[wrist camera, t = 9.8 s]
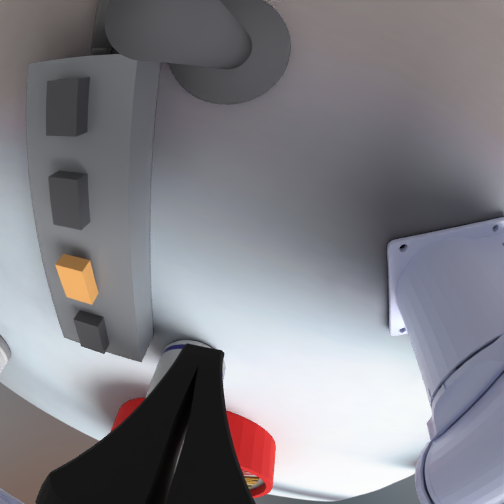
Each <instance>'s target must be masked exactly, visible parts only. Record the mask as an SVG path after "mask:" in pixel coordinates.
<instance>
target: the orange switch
mask: <svg viewBox="0 0 504 504" xmlns="http://www.w3.org/2000/svg"><path fill="white" fill-rule="evenodd" d="M55 266H56V269H57V272H58V275H59V277H60V280H61V283H62V286H63V289H64V291H65V294H66V297H68V298H71V299H75V300H78V301H81V302H84V303H88V304H91V305H92V304H93V302H94V300H95V299H96V297H97V295H98V294H99V293H98V289H97V286H96V282H95V278H94V274H93V270H92V266H91V262H90V260H87V259H83V258H79V257H75V256H71V255H67V254H63V255H62V256H61V257H60V259H59V260H58V261H57V263H56V264H55Z"/></svg>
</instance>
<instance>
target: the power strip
mask: <svg viewBox="0 0 504 504" xmlns="http://www.w3.org/2000/svg"><path fill="white" fill-rule="evenodd" d="M109 1H110V0H99V2H98V8H97V13H96V19H95V25H94V32H93V39H92V46H91V53H92V55H93V56H81V57H71V58H63V59H55V60H48V61H41V62H35V63H29V64H28V72H27V91H26V136H27V156H28V169H29V180H30V189H31V197H32V205H33V212H34V218H35V224H36V230H37V236H38V241H39V246H40V251H41V256H42V260H43V265H44V269H45V273H46V277H47V281H48V285H49V289H50V293H51V296H52V300H53V304H54V307H55V310H56V314H57V317H58V320H59V323H60V326H61V330H62V333H63V336H64V337H65V338H67V339H70V340H73V341H76V342H78V343H80V344H81V346H82V347H85V348H88V349H91V350H94V351H97V352H100V353H103V354H104V353H105V352H109V353H112V354H115V355H118V356H122V357H125V358H128V359H132V360H135V361H139V362H142V360H143V358H144V355H145V353H146V351H147V348H148V346H149V344H150V342H151V339H152V337H153V335H154V333H153V318H152V299H151V272H150V199H151V172H152V153H153V138H154V125H155V114H156V103H157V94H158V85H159V77H160V69H161V62H149V61H137V60H133V59H129V58H127V57H125V56H123V55H121V54H110V53H111V51H112V45H111V44H110V42H109V40H108V38H107V35H106V31H105V23H104V22H105V13H106V9H107V6H108V3H109ZM63 254H67V255H71V256H75V257H79V258H83V259H87V260H90V262H91V266H92V270H93V274H94V278H95V282H96V286H97V289H98V293H99V294H98V295H97V297H96V299H95V300H94V302H93V304H92V305H91V304H88V303H84V302H81V301H78V300H75V299H71V298H68V297H66V294H65V291H64V289H63V286H62V283H61V280H60V277H59V275H58V272H57V269H56V266H55V264H56V263H57V261H58V260H59V259H60V257H61V256H62V255H63Z"/></svg>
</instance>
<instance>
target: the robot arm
mask: <svg viewBox="0 0 504 504" xmlns="http://www.w3.org/2000/svg"><path fill="white" fill-rule="evenodd" d="M494 225H496V226H495V228H494V229H493V227H494ZM403 244H406V245H405V247H404V248H402V249H400V247H401V245H403ZM387 259H388V282H389V332H390V334H391V335H392V336H397V335H401V334H406V333H408V335H409V338H410V341H411V344H412V347H413V350H414V353H415V356H416V359H417V362H418V365H419V368H420V371H421V374H422V378H423V381H424V384H425V388H426V391H427V394H428V398H429V401H430V405H431V409H432V417H431V419H430V420H429V421H428V422H427V426H428V430H429V435H430V439H431V440H430V441H429V442H428V443H427V444H426V445H425V447H424V448H423V450H422V452H421V454H420V456H419V458H418V461H417V465H416V470H415V485H416V490H417V494H418V497H419V500H420V502H421V504H504V217H501V218H497V219H492V220H487V221H483V222H478V223H473V224H468V225H464V226H459V227H454V228H449V229H444V230H439V231H435V232H430V233H425V234H420V235H415V236H410V237H405V238H400V239H395V240H392V241H390V242H389V243H388V245H387ZM403 327H404V328H403ZM401 328H402V329H401ZM223 358H224V352H223V351H222V350H217V349H212V348H207V347H203V346H198V345H193V344H189V343H187V344H185V345H184V346H183V348H182V350H181V352H180V353H179V355H178V357H177V358H176V360H175V361H174V363H173V364H172V366H171V367H170V368H169V370H168V371H167V373H166V374H165V375H164V376H163V378H162V379H161V380H160V382H159V383H158V384H157V385H156V387H155V388H154V389H153V390H152V392H151V393H150V394H149V395H148V396H147V397H146V398H145V399H144V400H143V402H142V403H141V404H140V405H139V406H138V407H137V408H136V409H135V410H134V411H133V412H132V413H131V414H130V415H129V416H128V417H127V418H126V419H125V420H124V421H123V422H122V423H121V424H120V425H118V426H117V427H116V428H115V429H114V430H113V431H111V432H110V433H109V434H108V435H107V436H106V437H104V438H103V439H102V440H100V441H99V442H98V443H97V444H95V445H94V446H92V447H91V448H89V449H88V450H87V451H85V452H84V453H82V454H81V455H79V456H78V457H76V458H75V459H73V460H71V461H70V462H68V463H66V464H64V465H62V466H61V467H59V468H57V469H55V470H54V471H52V472H50V474H49V475H48V476H47V478H46V480H45V481H44V483H43V484H42V486H41V489H40V491H39V494H38V496H37V499H36V504H255V501H254V499H253V497H252V495H251V492H250V490H249V487H248V485H247V483H246V480H245V477H244V475H243V472H242V470H241V467H240V464H239V461H238V458H237V455H236V451H235V448H234V444H233V441H232V437H231V432H230V428H229V423H228V418H227V413H226V407H225V399H224V391H223ZM183 441H184V442H183ZM182 444H183V445H182ZM181 447H182V449H181ZM180 450H181V452H180ZM179 453H180V456H179ZM178 456H179V459H178ZM177 460H178V463H177ZM176 463H177V466H176ZM175 468H176V470H175ZM174 472H175V473H174ZM0 504H24V503H23V502H21V501H19V500H18V499H16V498H15V497H13V496H11V495H10V494H8V493H7V492H5V491H4V490H2V489H1V488H0Z"/></svg>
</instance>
